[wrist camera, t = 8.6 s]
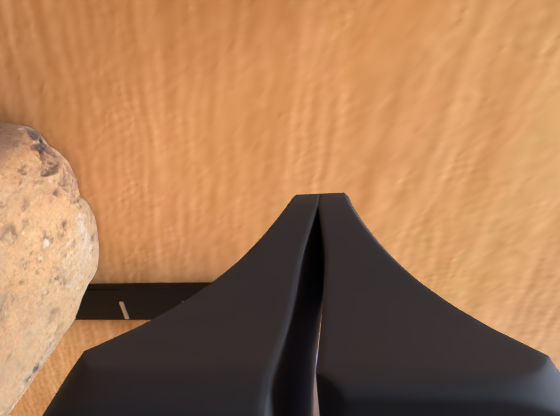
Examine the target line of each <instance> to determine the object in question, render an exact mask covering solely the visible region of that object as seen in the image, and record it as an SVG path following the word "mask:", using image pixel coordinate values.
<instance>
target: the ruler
mask: <svg viewBox="0 0 560 416" xmlns="http://www.w3.org/2000/svg"><path fill="white" fill-rule="evenodd" d="M210 283H212V282H208V283H123V284H88V286H87V288H86V291H85V293H84V295H83V297H82V300H81V303H80V306H79V309H78V312H77V314H76V316H75V319H74V320H152V319H154V318H156V317H158V316H160V315H162V314H163V313H165V312H167V311H169V310H170V309H172V308H174V307H175V306H177V305H179V304H181V303H182V302H184V301H185V300H187V299H189V298H190V297H191V296H193V295H194V294H196V293H197V292H199V291H200V290H202V289H203V288H205V287H206V286H207V285H209V284H210Z"/></svg>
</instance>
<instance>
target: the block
mask: <svg viewBox="0 0 560 416" xmlns="http://www.w3.org/2000/svg"><path fill="white" fill-rule="evenodd" d="M98 261H99V244H98V235H97V227H96V222H95V217H94V215H93V213H92V211H91V209H90V207H89V205H88V203H87V202H86V200H85V199H83V198H82V197H81V195H80V194H79V190H78V181H77V179H76V177H75V175H74V173H73V171H72V168H71V166H70V164H69V162H68V161H67V160H66V159H65V158H64V157H63V156H62V155H61V154H60V153H59V152H58V150H56V149H54V148H53V147H51V146H49V145H48V144H47V142H46V141H45V140H44V138H43V137H42V136H41V135H40V134H39V133H38V132H37V131H36V130H35V129H33V128H31V127H29V126H23V125H17V124H12V123H8V122H0V416H8V415H9V414H10V412H11V411H12V409H13V408H14V407H15V405H16V404H17V402H18V401H19V400H20V398H21V397H22V395H23V394H24V392H25V391H26V390H27V388H28V387H29V385H30V384H31V382H32V381H33V379H34V378H35V377H36V375H37V374H38V372H39V371H40V369H41V368H42V366H43V365H44V364H45V362H46V361H47V359H48V358H49V356H50V355H51V353H52V352H53V351H54V349H55V348H56V347H57V345H58V343H59V341H60V339H61V337H62V336H63V335H64V334H65V333H66V331H67V330H68V329H69V327H70V326H71V324H72V323H73V321H74V319H75V316H76V314H77V312H78V309H79V306H80V303H81V300H82V297H83V295H84V293H85V291H86V288H87V286H88V284H89V282H90V281H91V280H92V279H93V277H94V275H95V273H96V271H97V267H98Z"/></svg>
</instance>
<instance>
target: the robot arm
mask: <svg viewBox="0 0 560 416" xmlns="http://www.w3.org/2000/svg"><path fill="white" fill-rule="evenodd" d="M321 315H322V317H321ZM320 323H321V330H320ZM319 332H320V339H319ZM318 340H319V348H318ZM43 416H560V372H559V370H558V369H557V368H556V366H555V365H554V363H553V362H552V361H551V359H550V358H549V356H548V355H545V354H543V353H541V352H539V351H537V350H535V349H533V348H531V347H529V346H527V345H525V344H523V343H521V342H519V341H517V340H515V339H513V338H511V337H509V336H507V335H505V334H502V333H500V332H498V331H496V330H494V329H492V328H490V327H489V326H487V325H485V324H483V323H482V322H480V321H478V320H476V319H475V318H473V317H471V316H470V315H468V314H466V313H464V312H463V311H461V310H459V309H458V308H456V307H455V306H453V305H452V304H450V303H448V302H447V301H445V300H444V299H443V298H441V297H440V296H438V295H437V294H436V293H434V292H433V291H431V290H430V289H429V288H427V287H426V286H424V285H423V284H422V283H420V282H419V281H418V280H417V279H415V278H414V277H413V276H412V275H411V274H410V273H409V272H407V271H406V270H405V269H404V268H403V267H402V266H401V265H400V264H399V263H398V262H397V261H396V260H395V259H394V258H393V257H392V256H391V255H390V254H389V253H388V252H387V251H386V250H385V249H384V248H383V247H382V245H381V244H380V243H379V242H378V241H377V240H376V238H375V237H374V236H373V235H372V233H371V232H370V231H369V229H368V228H367V227H366V226H365V224H364V223H363V221H362V220H361V219H360V217H359V215H358V214H357V212H356V211H355V209H354V207H353V206H352V204H351V202H350V199H349V197H348V196H347V195H346V194H345V193H327V194H304V195H295V196H294V197H293V198H292V200H291V201H290V202H289V204H288V205H287V207H286V208H285V209H284V211H283V212H282V213H281V215H280V216H279V217H278V219H277V220H276V221H275V222H274V224H273V225H272V226H271V227H270V228H269V230H268V231H267V232H266V233H265V234H264V235H263V237H262V238H261V239H260V240H259V241H258V242H257V243H256V244H255V245H254V246H253V247H252V248H251V249H250V250H249V251H248V252H247V253H246V254H245V255H244V256H243V257H242V258H241V259H240V260H239V261H238V262H237V263H236V264H235V265H234V266H232V267H231V268H230V269H229V270H227V271H226V272H225V273H224V274H223V275H221V276H220V277H219V278H217V279H216V280H215V281H213V282H212V283H210V284H209V285H207V286H206V287H205V288H203V289H202V290H200V291H199V292H197V293H196V294H194V295H193V296H191V297H190V298H189V299H187V300H185V301H184V302H182V303H181V304H179V305H177V306H175V307H174V308H172V309H170V310H169V311H167V312H165V313H163V314H162V315H160V316H158V317H156V318H154V319H152V320H150V321H149V322H147V323H145V324H143V325H141V326H139V327H137V328H135V329H133V330H131V331H128V332H126V333H124V334H122V335H120V336H117V337H115V338H113V339H111V340H109V341H106V342H104V343H102V344H100V345H98V346H95V347H93V348H91V349H88V350H86V351H84V352H83V354H82V355H81V357H80V358H79V359H78V361H77V362H76V364H75V365H74V367H73V368H72V370H71V371H70V373H69V374H68V376H67V377H66V379H65V380H64V382H63V384H62V385H61V387H60V388H59V390H58V392H57V393H56V395H55V396H54V398H53V400H52V401H51V403H50V404H49V406H48V408H47V409H46V411H45V412H44V414H43Z"/></svg>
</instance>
